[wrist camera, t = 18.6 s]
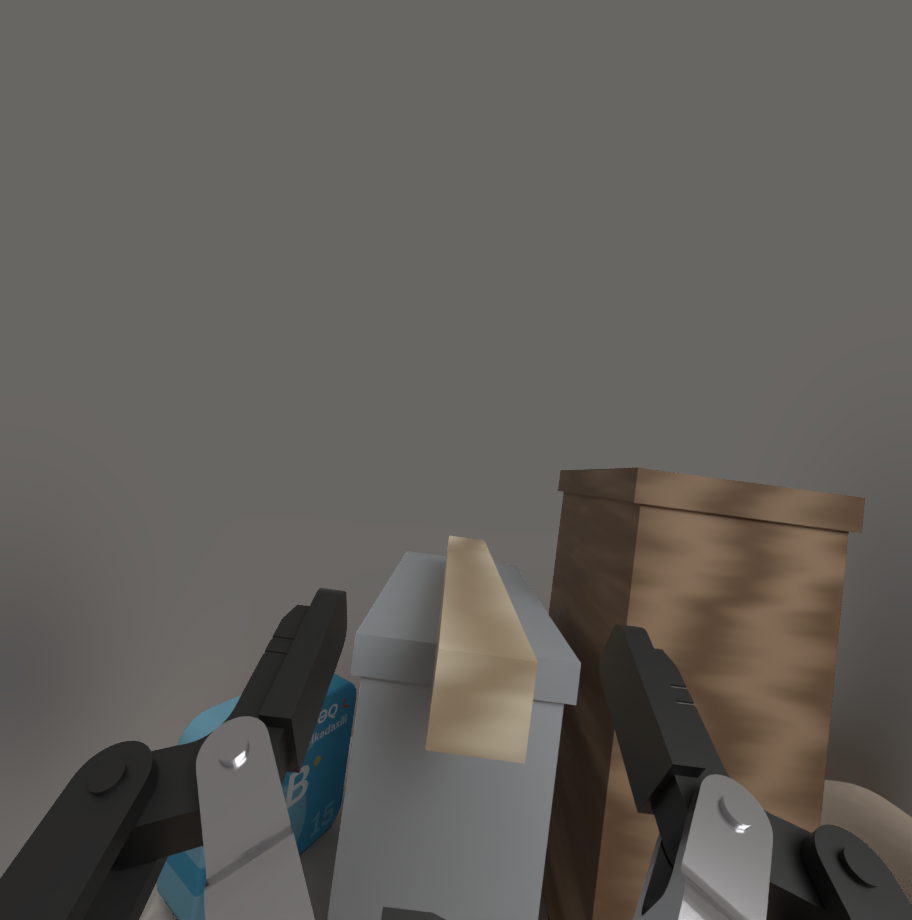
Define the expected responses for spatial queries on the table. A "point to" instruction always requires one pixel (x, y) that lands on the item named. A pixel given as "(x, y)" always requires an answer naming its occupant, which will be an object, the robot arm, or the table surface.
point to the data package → (305, 793)
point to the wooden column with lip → (692, 653)
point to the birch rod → (479, 663)
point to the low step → (443, 770)
